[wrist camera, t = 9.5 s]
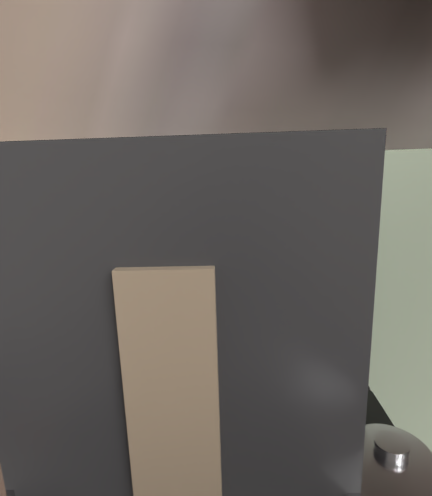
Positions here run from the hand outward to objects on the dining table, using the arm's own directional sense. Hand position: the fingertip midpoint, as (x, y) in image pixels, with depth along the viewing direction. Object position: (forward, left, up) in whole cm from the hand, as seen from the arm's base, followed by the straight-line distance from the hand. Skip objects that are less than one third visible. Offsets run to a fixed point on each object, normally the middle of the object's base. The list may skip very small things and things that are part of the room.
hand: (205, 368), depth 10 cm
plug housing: (0, 0, -1) cm, 1 cm away
